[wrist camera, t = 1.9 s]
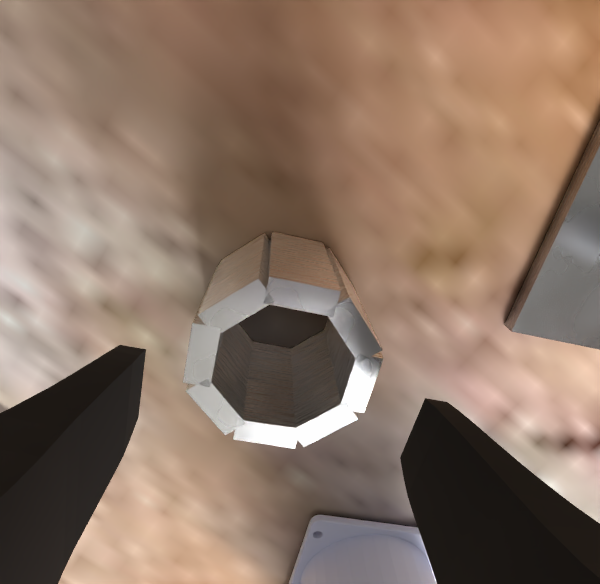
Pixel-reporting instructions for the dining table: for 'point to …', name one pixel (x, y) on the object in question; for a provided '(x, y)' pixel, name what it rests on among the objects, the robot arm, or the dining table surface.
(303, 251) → the collar
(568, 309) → the duct stub
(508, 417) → the dining table surface
